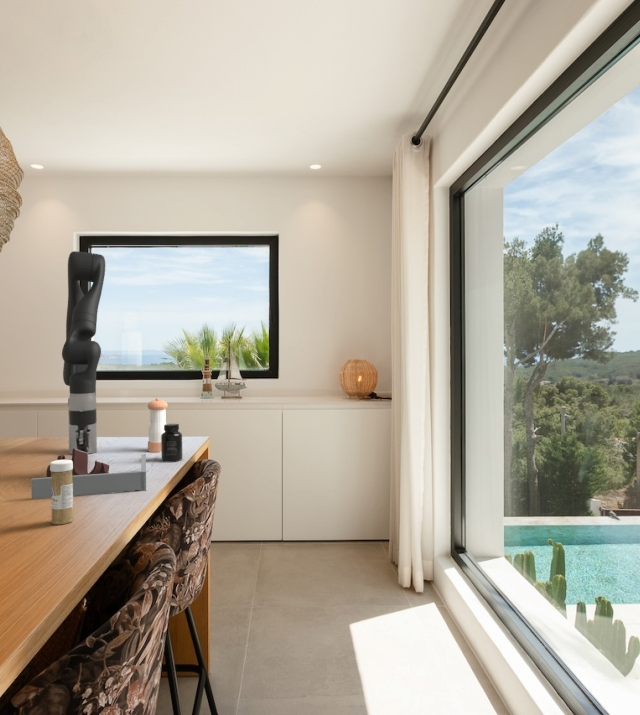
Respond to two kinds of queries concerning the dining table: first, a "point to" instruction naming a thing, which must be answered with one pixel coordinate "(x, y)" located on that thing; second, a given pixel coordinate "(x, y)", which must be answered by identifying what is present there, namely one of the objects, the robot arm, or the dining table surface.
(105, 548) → the dining table surface
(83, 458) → the bracket
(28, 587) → the dining table surface
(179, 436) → the supplement bottle
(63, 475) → the sprinkles bottle
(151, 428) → the pepper shaker
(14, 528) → the dining table surface
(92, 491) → the angled bar
